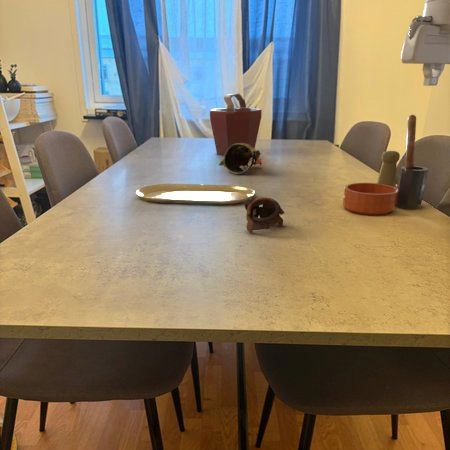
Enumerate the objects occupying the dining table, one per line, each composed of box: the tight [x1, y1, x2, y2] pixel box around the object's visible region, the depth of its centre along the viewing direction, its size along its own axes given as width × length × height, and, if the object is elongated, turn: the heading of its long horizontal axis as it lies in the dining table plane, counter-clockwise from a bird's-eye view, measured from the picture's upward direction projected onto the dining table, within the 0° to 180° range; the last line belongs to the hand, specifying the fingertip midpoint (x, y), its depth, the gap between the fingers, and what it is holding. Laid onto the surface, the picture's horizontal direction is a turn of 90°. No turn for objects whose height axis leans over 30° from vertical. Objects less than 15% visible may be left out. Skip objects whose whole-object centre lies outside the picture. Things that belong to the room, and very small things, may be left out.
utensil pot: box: [396, 165, 429, 210], centre depth 115 cm, size 7×7×10 cm
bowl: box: [342, 182, 399, 216], centre depth 114 cm, size 13×13×6 cm
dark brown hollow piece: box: [243, 196, 286, 234], centre depth 100 cm, size 12×10×8 cm
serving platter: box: [135, 183, 256, 206], centre depth 127 cm, size 19×35×2 cm, turn 82°
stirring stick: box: [405, 114, 417, 170], centre depth 113 cm, size 2×2×22 cm
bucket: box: [209, 92, 262, 157], centre depth 193 cm, size 24×22×25 cm
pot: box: [218, 143, 263, 175], centre depth 159 cm, size 17×11×18 cm
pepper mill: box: [376, 150, 401, 188], centre depth 135 cm, size 6×6×11 cm
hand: (430, 85), depth 104 cm, fingers closed
